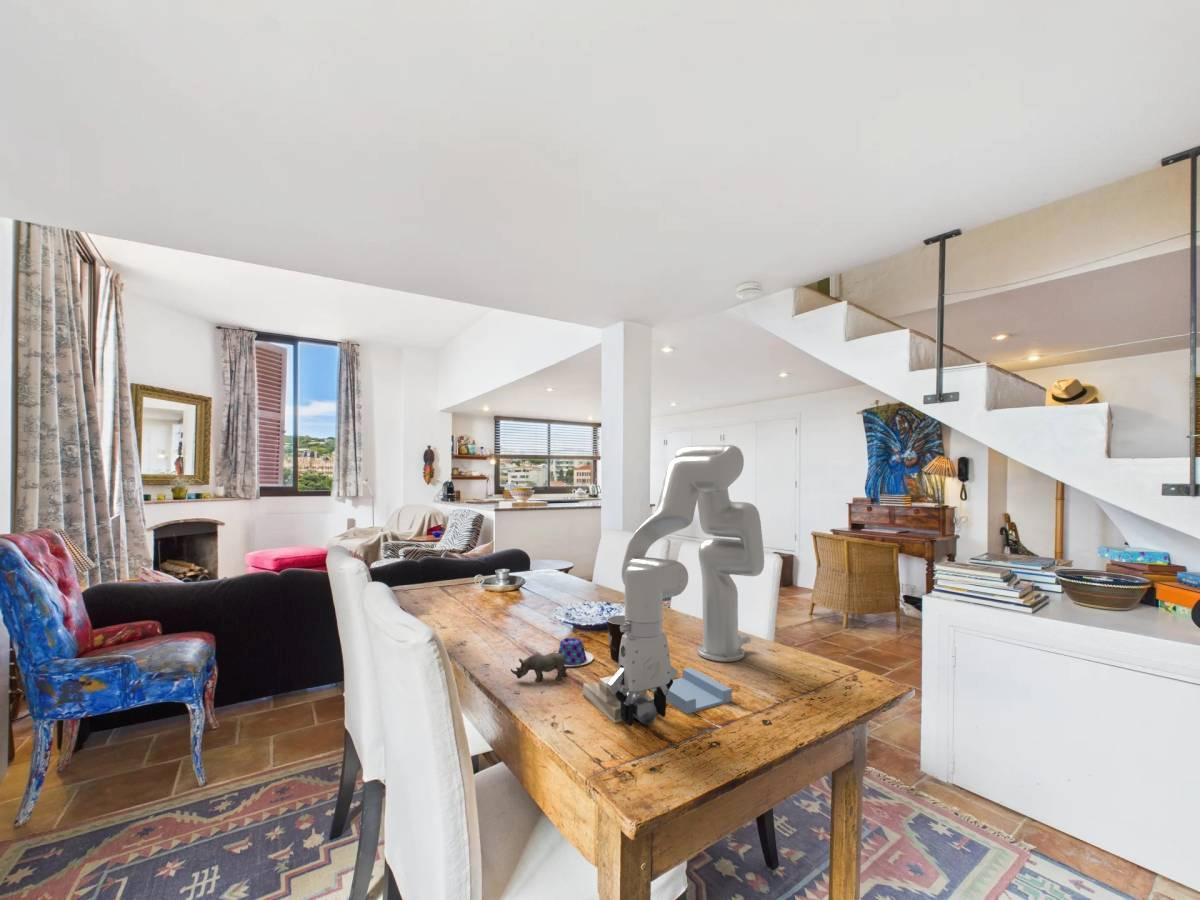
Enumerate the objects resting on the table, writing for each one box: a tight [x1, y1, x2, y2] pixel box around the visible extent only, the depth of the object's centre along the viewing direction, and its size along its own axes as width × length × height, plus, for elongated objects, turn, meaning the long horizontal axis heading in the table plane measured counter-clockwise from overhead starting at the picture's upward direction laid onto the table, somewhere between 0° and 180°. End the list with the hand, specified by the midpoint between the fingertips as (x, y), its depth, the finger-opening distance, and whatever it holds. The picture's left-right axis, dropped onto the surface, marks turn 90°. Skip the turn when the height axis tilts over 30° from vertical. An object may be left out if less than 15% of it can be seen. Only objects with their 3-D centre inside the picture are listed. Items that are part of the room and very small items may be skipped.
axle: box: [618, 685, 658, 726], centre depth 103 cm, size 13×4×4 cm, turn 28°
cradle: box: [649, 666, 733, 715], centre depth 112 cm, size 12×14×3 cm
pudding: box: [554, 637, 594, 667], centre depth 133 cm, size 12×12×5 cm
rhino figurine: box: [510, 652, 568, 683], centre depth 121 cm, size 4×14×6 cm, turn 104°
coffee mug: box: [606, 614, 625, 662], centre depth 137 cm, size 12×9×10 cm
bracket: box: [582, 674, 654, 723], centre depth 108 cm, size 10×14×6 cm
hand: (643, 717), depth 99 cm, fingers open, 7 cm apart
